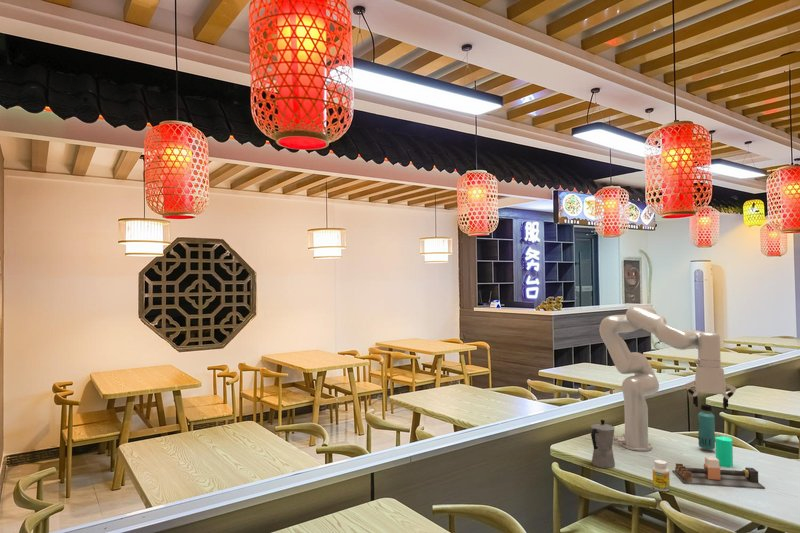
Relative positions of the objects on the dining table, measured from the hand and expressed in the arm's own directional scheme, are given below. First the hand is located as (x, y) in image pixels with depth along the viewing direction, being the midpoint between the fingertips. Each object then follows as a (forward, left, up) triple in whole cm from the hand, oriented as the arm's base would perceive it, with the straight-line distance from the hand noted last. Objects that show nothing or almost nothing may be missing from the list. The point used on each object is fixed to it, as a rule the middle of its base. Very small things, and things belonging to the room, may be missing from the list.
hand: (710, 407), depth 201 cm
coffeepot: (-41, 0, -25) cm, 48 cm away
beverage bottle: (+8, +26, -25) cm, 37 cm away
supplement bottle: (-25, -21, -25) cm, 41 cm away
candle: (+8, +9, -25) cm, 28 cm away
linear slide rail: (-2, -9, -25) cm, 27 cm away
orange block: (-3, -9, -24) cm, 26 cm away
